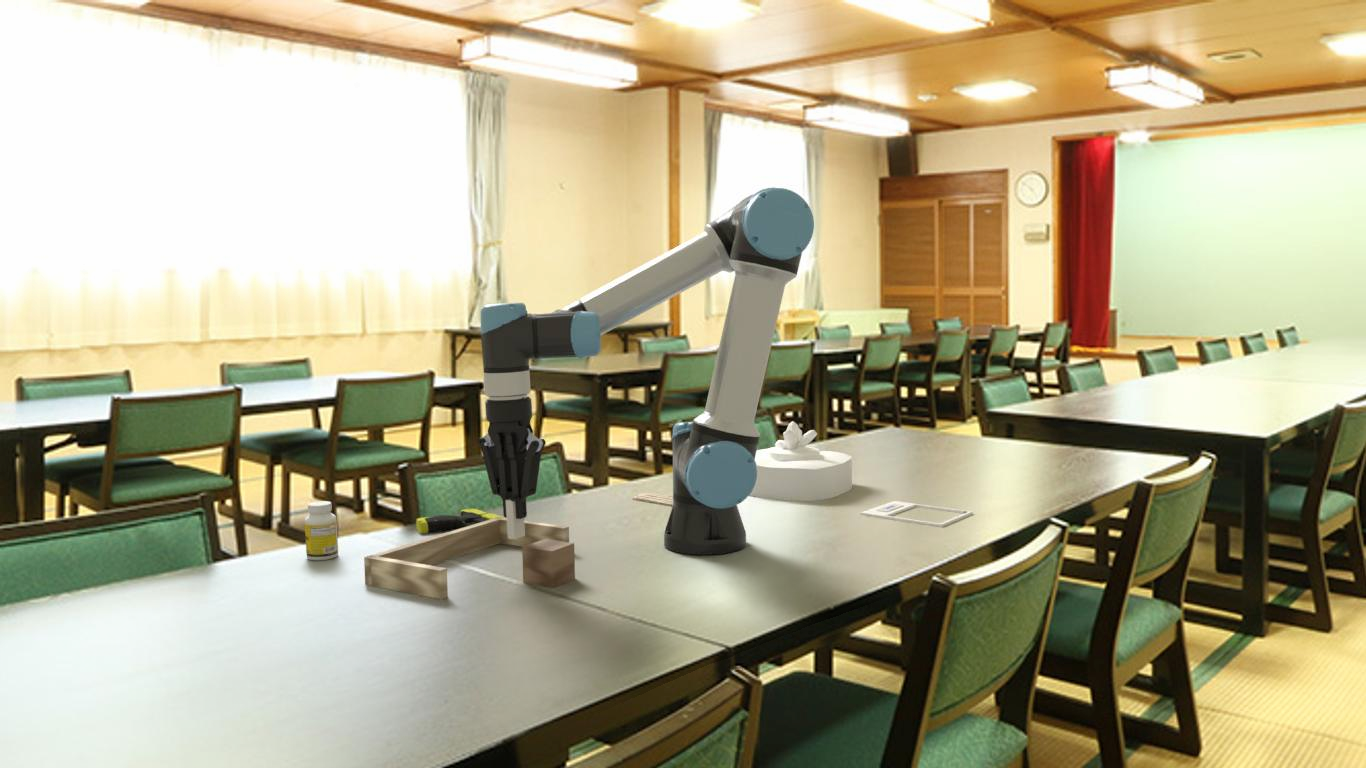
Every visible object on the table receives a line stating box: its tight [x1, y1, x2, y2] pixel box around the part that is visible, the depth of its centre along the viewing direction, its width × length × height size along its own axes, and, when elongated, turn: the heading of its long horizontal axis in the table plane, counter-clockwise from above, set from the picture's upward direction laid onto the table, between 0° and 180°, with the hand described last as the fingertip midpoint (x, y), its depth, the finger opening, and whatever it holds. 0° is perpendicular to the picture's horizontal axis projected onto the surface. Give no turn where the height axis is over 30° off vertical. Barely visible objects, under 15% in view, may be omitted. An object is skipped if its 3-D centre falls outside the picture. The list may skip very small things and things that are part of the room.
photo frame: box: [860, 500, 974, 528], centre depth 218 cm, size 15×1×18 cm
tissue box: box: [748, 420, 853, 501], centre depth 245 cm, size 25×25×16 cm
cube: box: [521, 539, 576, 589], centre depth 172 cm, size 6×6×6 cm
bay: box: [363, 516, 570, 600], centre depth 180 cm, size 16×33×4 cm, turn 149°
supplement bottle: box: [304, 500, 339, 561], centre depth 188 cm, size 5×5×10 cm
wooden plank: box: [632, 492, 673, 508], centre depth 230 cm, size 24×7×2 cm, turn 50°
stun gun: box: [415, 508, 505, 535], centre depth 206 cm, size 3×19×15 cm
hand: (516, 536), depth 176 cm, fingers closed
